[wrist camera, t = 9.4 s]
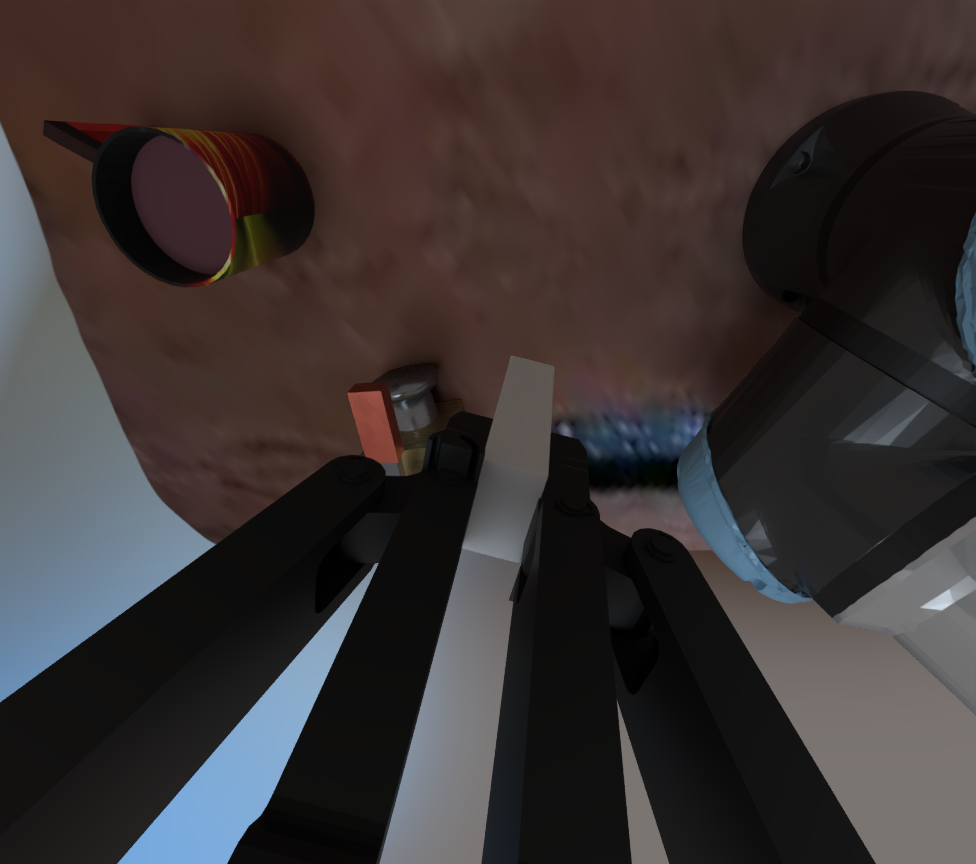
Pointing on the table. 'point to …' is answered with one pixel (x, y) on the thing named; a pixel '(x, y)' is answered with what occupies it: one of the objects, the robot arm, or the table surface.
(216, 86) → the table surface
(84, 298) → the table surface
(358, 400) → the lever
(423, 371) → the valve
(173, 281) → the mug
